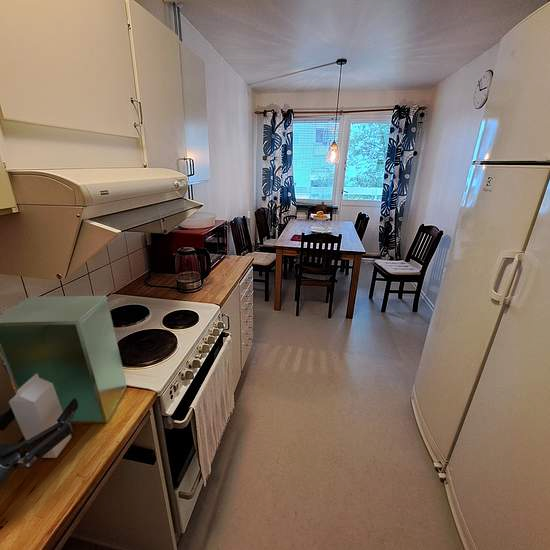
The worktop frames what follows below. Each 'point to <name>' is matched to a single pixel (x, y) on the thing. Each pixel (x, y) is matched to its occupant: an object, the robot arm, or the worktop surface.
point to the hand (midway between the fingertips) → (48, 403)
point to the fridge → (66, 351)
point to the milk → (38, 410)
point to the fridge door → (3, 392)
